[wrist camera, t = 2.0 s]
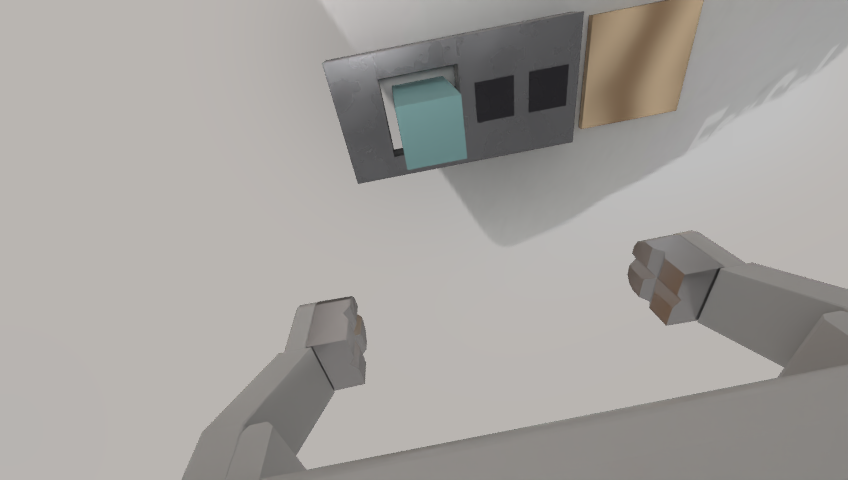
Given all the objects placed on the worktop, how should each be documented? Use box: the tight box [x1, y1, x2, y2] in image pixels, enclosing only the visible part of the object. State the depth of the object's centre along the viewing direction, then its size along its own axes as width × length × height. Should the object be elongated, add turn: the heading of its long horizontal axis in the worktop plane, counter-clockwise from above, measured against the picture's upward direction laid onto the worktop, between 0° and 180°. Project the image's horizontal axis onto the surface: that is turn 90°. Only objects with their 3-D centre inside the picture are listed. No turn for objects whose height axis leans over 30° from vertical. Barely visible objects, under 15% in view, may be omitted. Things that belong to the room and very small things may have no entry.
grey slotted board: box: [322, 12, 584, 184], centre depth 29 cm, size 20×10×2 cm, turn 99°
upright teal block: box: [392, 76, 467, 170], centre depth 27 cm, size 4×4×8 cm
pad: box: [579, 0, 704, 129], centre depth 29 cm, size 9×9×1 cm
